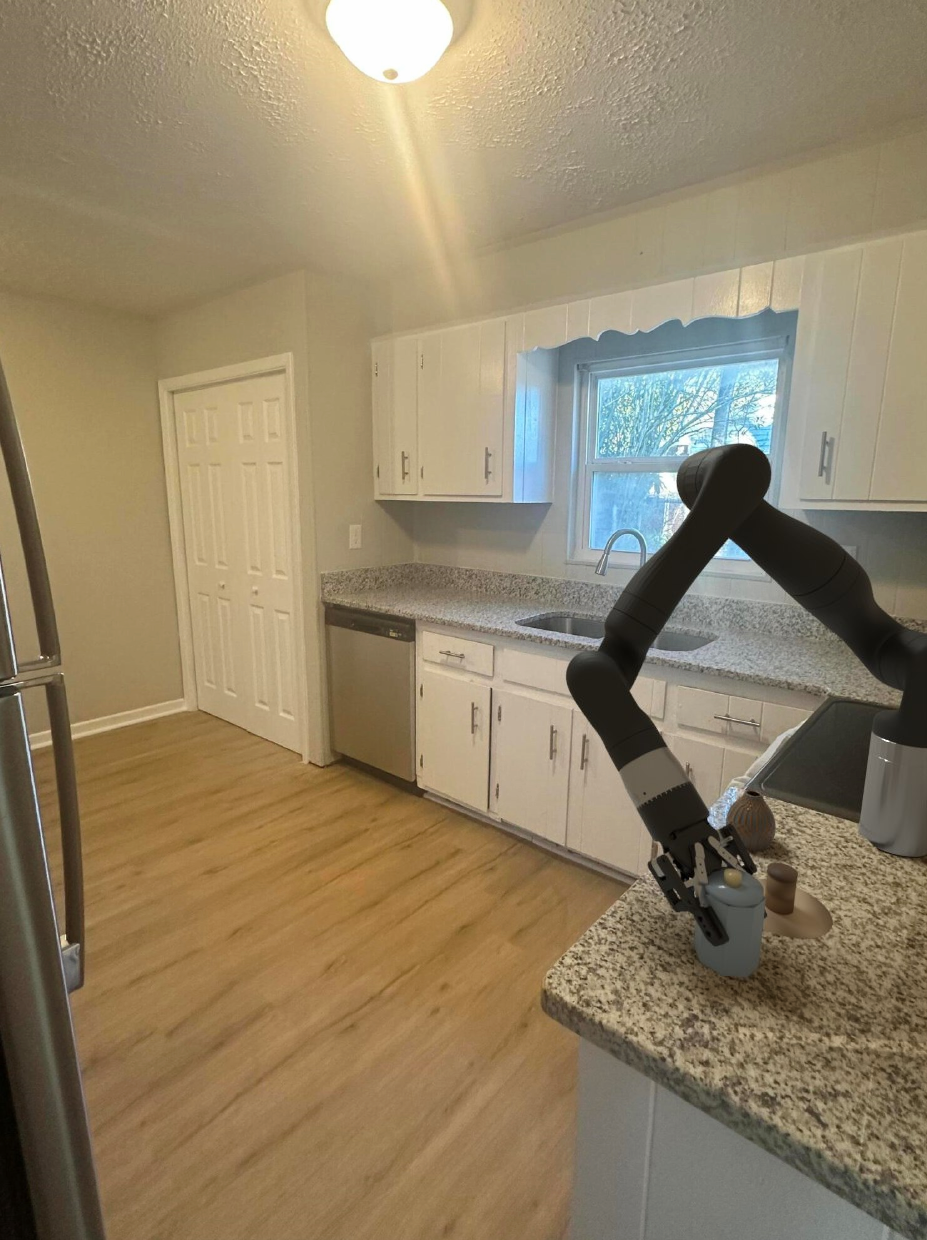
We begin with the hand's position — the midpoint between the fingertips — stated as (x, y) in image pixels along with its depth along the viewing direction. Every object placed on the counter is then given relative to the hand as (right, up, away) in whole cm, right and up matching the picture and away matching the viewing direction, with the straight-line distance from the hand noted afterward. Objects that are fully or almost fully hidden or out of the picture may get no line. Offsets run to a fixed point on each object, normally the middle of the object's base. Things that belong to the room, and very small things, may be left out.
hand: (741, 931), depth 69 cm
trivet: (+10, -3, +11) cm, 15 cm away
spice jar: (+10, -2, +11) cm, 15 cm away
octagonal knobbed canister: (-1, -5, +2) cm, 5 cm away
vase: (+13, 0, +26) cm, 29 cm away
